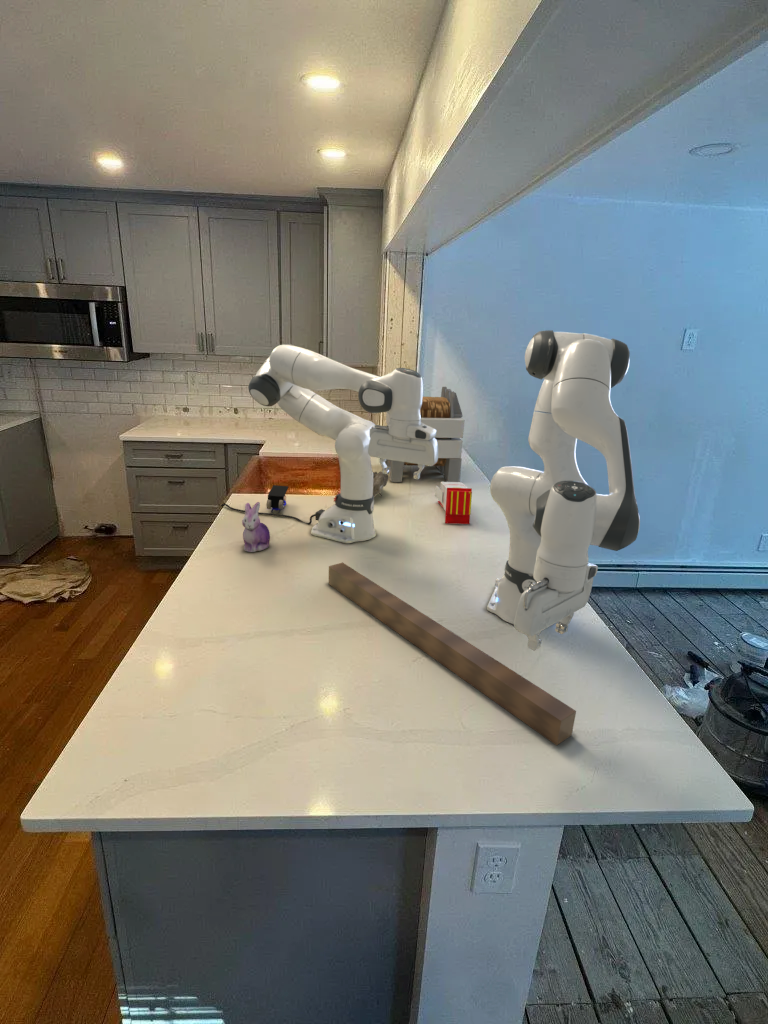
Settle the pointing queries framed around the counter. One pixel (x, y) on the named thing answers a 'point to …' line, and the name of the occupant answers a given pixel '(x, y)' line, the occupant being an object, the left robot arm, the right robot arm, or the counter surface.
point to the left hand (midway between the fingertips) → (401, 476)
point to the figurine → (254, 530)
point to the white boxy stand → (439, 435)
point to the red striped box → (455, 502)
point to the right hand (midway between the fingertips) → (547, 639)
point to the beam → (459, 656)
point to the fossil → (379, 482)
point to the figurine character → (277, 498)
